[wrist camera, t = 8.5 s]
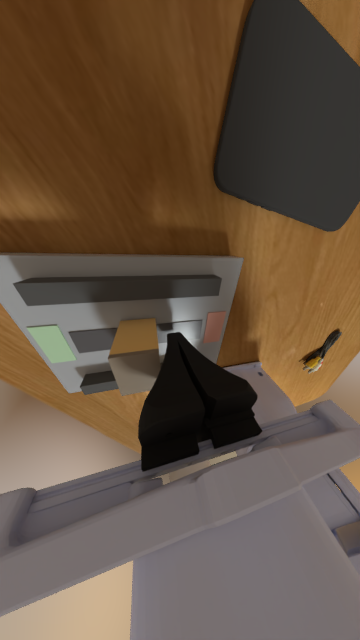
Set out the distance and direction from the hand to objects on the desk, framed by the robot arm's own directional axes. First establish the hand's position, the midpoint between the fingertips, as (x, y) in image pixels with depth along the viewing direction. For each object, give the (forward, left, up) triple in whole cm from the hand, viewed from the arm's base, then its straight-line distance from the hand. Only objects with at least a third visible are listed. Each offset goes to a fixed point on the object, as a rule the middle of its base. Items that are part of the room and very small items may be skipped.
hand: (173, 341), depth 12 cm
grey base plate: (+3, 0, -3) cm, 4 cm away
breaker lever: (+3, 0, -1) cm, 3 cm away
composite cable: (-32, +11, -4) cm, 34 cm away
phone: (-11, -14, -4) cm, 18 cm away
